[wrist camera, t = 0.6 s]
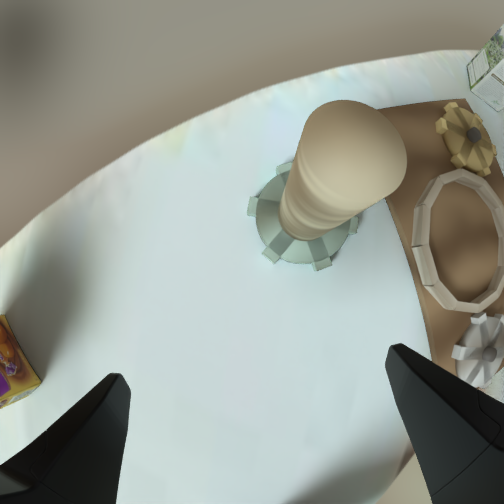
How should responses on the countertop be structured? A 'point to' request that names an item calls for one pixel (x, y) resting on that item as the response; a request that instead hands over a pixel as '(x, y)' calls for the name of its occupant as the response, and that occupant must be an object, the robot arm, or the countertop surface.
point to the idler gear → (329, 183)
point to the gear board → (453, 234)
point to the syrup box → (489, 72)
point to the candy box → (14, 369)
